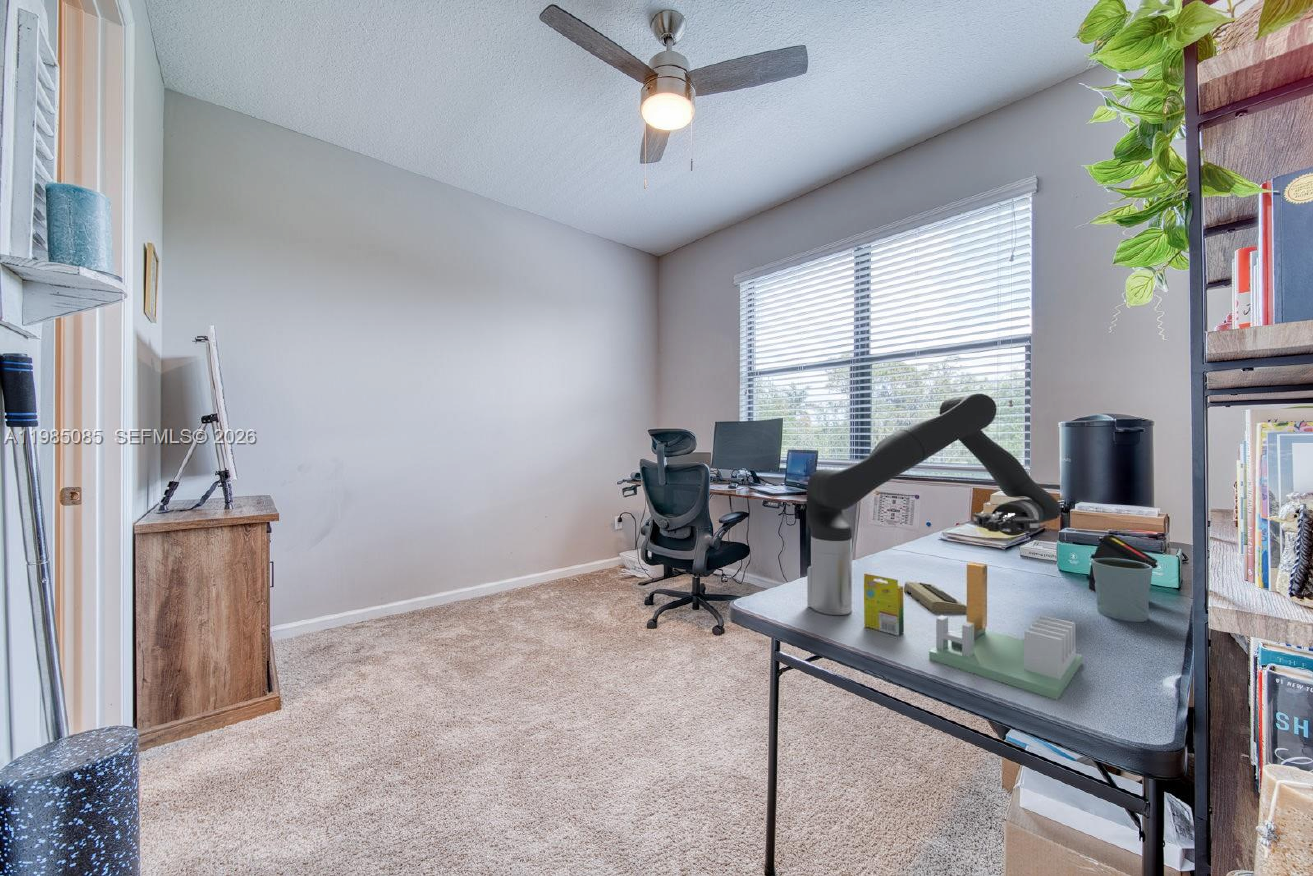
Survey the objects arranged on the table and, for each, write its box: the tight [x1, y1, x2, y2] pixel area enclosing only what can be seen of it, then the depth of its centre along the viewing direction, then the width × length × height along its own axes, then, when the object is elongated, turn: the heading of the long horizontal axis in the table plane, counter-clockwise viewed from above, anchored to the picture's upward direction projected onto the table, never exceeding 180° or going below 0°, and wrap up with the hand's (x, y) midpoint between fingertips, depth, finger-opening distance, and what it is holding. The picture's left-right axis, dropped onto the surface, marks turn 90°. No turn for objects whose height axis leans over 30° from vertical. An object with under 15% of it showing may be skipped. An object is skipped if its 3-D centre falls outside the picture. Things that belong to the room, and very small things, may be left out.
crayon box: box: [863, 573, 905, 637], centre depth 107 cm, size 7×3×12 cm, turn 43°
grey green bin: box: [1091, 558, 1154, 623], centre depth 115 cm, size 10×10×12 cm
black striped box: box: [1086, 534, 1159, 591], centre depth 129 cm, size 4×13×15 cm, turn 19°
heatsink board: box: [928, 614, 1083, 701], centre depth 93 cm, size 19×19×8 cm
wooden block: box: [951, 561, 988, 649], centre depth 99 cm, size 3×12×14 cm, turn 131°
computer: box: [903, 581, 967, 614], centre depth 125 cm, size 16×8×3 cm, turn 176°
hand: (992, 526), depth 108 cm, fingers closed
